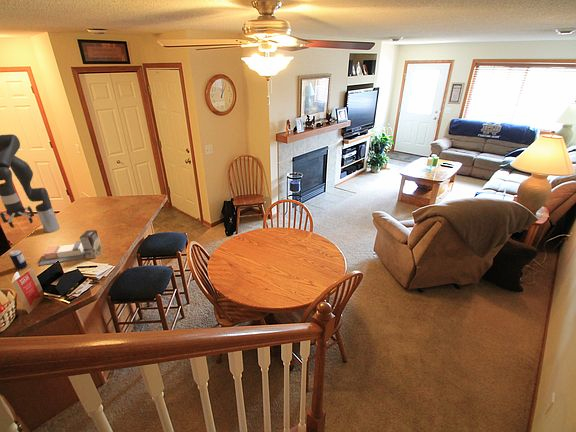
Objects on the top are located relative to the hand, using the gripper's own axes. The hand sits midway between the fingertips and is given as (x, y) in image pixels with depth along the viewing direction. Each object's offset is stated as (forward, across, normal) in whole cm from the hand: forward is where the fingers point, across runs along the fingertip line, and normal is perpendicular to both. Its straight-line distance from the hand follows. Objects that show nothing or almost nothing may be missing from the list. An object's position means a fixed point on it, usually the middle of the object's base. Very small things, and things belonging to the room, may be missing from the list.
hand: (22, 224), depth 181 cm
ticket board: (+26, -14, +4) cm, 30 cm away
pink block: (+25, -8, +2) cm, 26 cm away
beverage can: (+26, +8, +5) cm, 28 cm away
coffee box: (+26, -30, +15) cm, 42 cm away
